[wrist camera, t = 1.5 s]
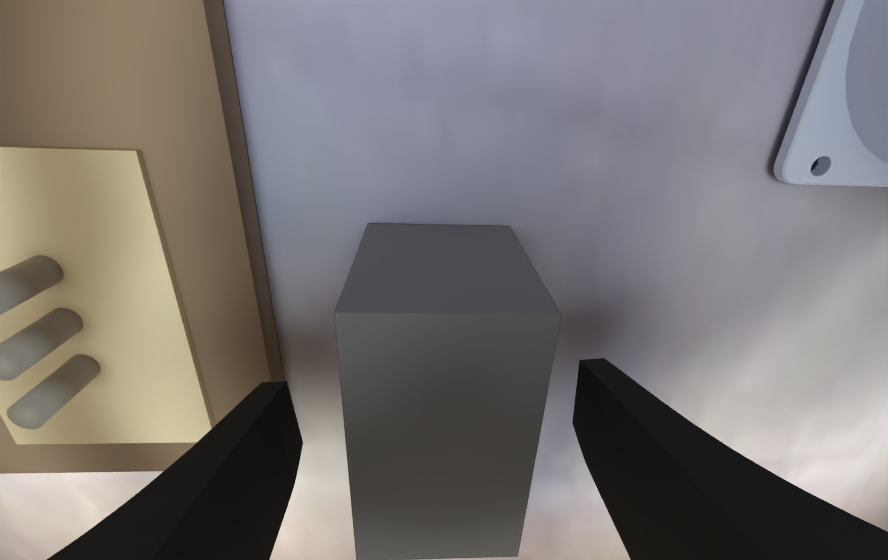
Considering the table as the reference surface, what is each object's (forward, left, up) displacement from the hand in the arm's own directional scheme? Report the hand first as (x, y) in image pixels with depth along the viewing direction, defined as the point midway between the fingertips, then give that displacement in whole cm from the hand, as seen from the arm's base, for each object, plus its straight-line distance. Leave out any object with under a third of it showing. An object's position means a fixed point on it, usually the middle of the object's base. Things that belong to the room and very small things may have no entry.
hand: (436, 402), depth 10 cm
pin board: (+10, -5, -3) cm, 12 cm away
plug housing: (0, 0, -3) cm, 3 cm away
